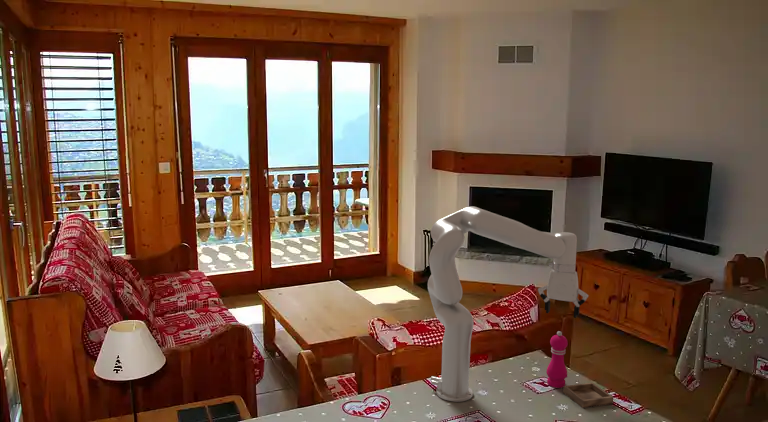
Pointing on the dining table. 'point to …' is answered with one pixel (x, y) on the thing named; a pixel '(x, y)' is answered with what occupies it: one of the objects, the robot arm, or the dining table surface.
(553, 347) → the magenta pepper mill
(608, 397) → the walnut tray
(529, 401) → the dining table surface
